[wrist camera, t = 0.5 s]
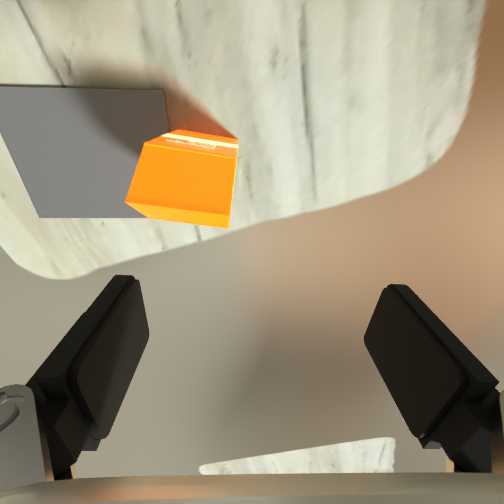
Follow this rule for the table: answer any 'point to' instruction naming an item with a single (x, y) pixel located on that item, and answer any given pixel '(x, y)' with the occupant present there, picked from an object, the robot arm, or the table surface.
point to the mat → (80, 145)
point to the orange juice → (185, 178)
